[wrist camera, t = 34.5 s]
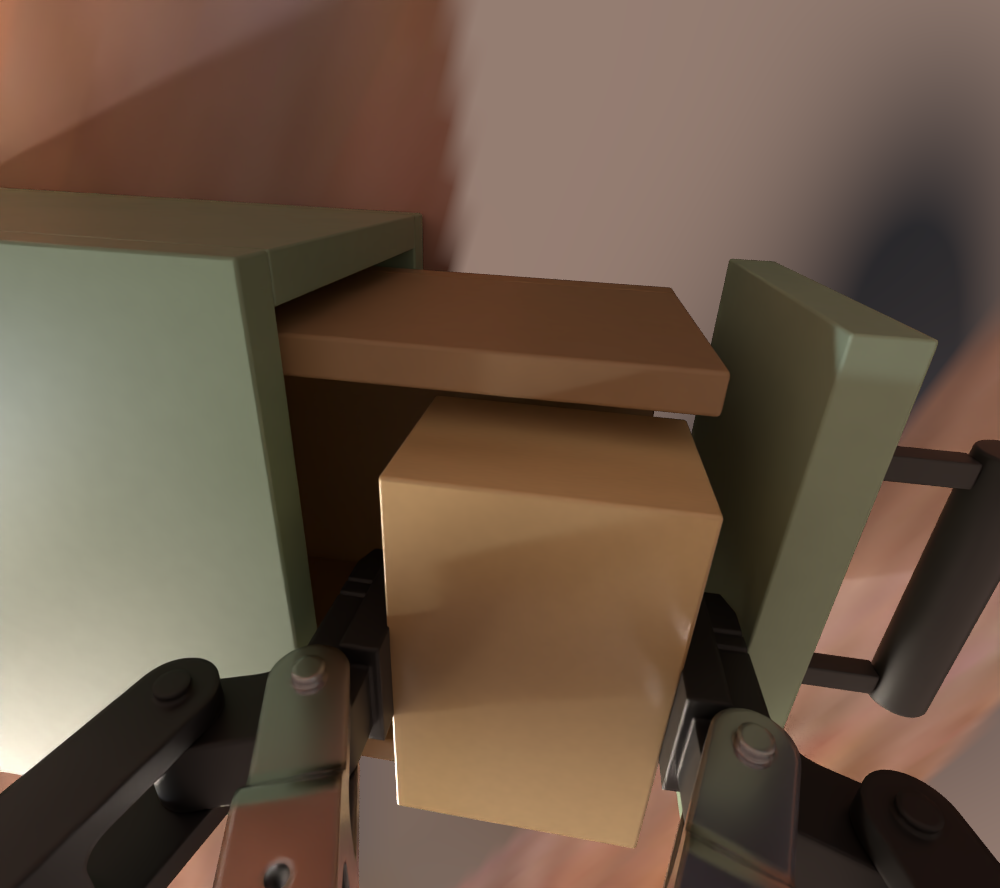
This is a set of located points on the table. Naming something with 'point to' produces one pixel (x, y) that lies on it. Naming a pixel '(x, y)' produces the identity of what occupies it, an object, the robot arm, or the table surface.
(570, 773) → the tan rectangular block
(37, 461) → the cabinet
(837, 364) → the drawer
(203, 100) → the table surface
